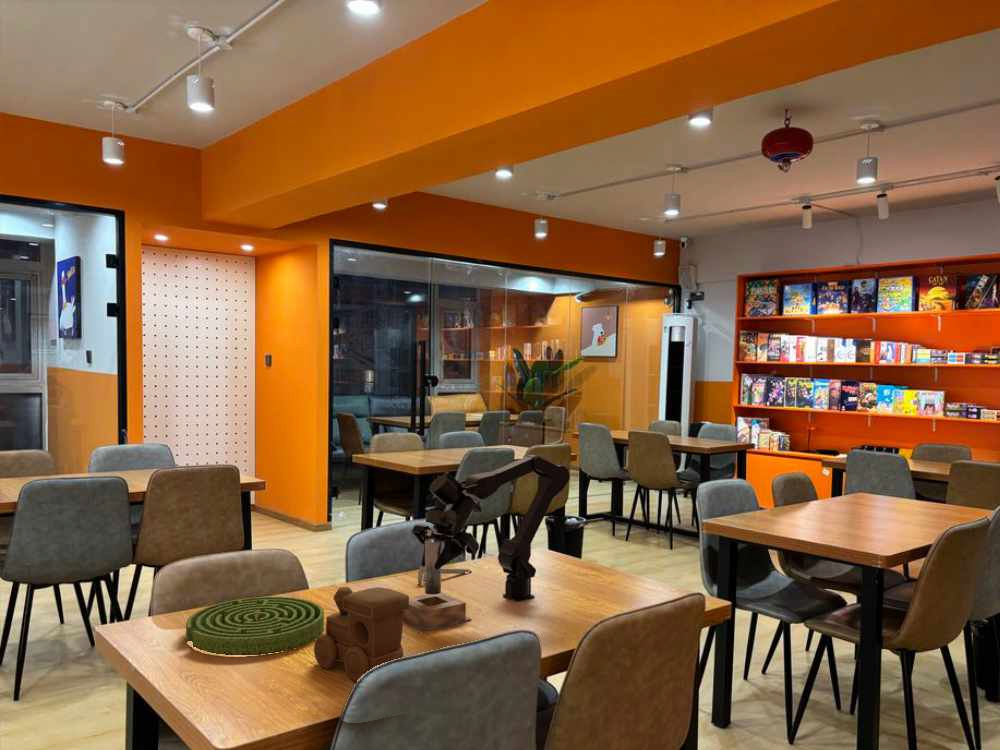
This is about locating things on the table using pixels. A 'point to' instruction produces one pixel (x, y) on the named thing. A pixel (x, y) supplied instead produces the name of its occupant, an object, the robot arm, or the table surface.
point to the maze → (255, 625)
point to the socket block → (434, 612)
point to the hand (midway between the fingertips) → (429, 567)
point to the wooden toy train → (363, 630)
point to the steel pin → (432, 566)
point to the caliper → (443, 571)
